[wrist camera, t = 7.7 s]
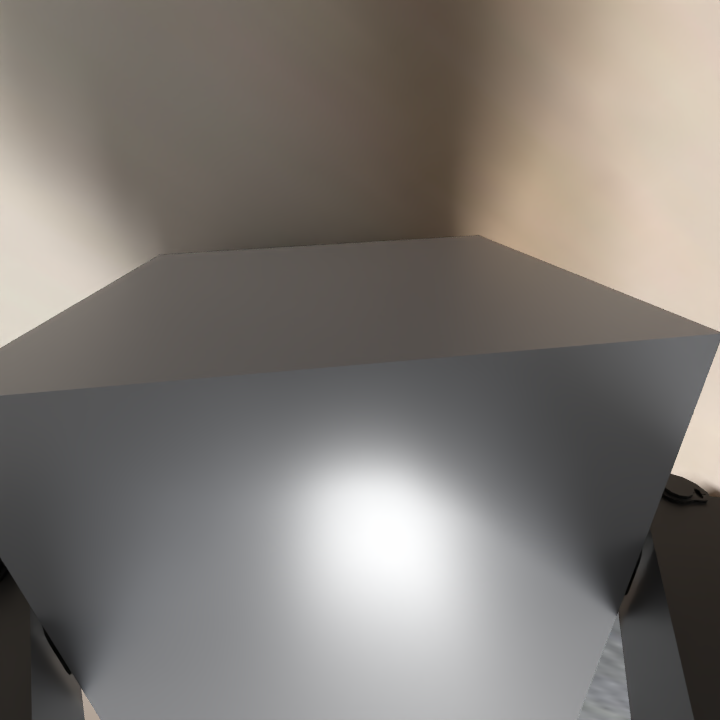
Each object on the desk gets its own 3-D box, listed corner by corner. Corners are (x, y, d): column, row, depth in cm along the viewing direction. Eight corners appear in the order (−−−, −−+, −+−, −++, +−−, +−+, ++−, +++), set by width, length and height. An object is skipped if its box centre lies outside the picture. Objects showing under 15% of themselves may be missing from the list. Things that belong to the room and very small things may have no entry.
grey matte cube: (159, 254, 13) (-95, 403, 5) (478, 235, 13) (722, 333, 5) (221, 501, 17) (145, 792, 9) (458, 474, 18) (577, 719, 10)
